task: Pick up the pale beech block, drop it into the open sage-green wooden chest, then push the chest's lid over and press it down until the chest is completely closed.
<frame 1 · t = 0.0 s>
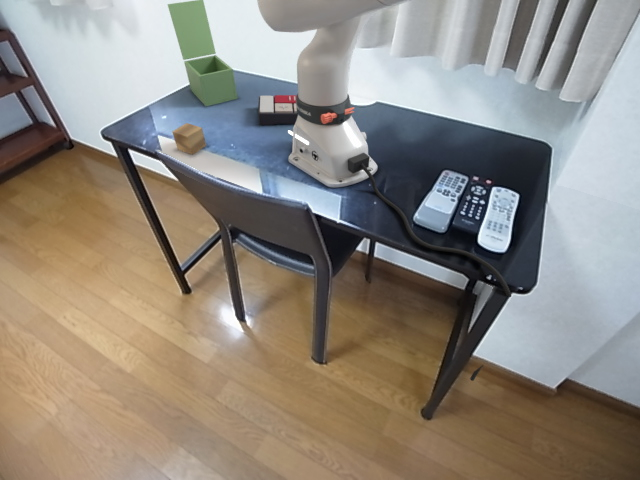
block: (192, 147, 94), on the table
chest: (213, 94, 116), on the table
lid: (192, 30, 110), point 16 cm above the table, hinge at 100.0°
black rectangular box: (285, 116, 107), on the table
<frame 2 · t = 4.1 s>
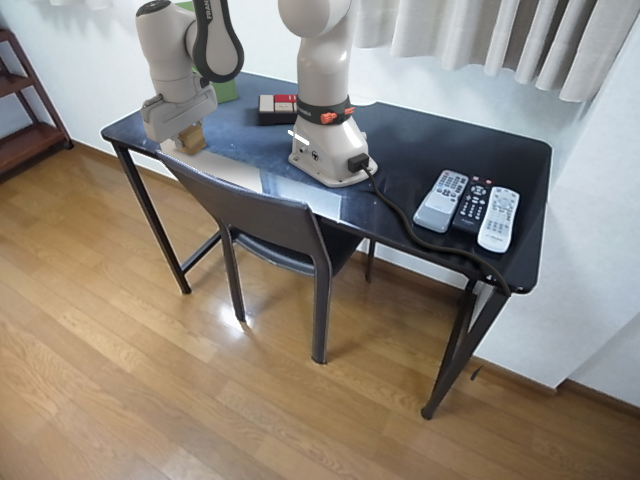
hand: (190, 141, 93), 2 cm above the table, tool pointing down, fingers closed on block, 5 cm apart
block: (192, 147, 94), on the table, touching gripper
everything else where it was.
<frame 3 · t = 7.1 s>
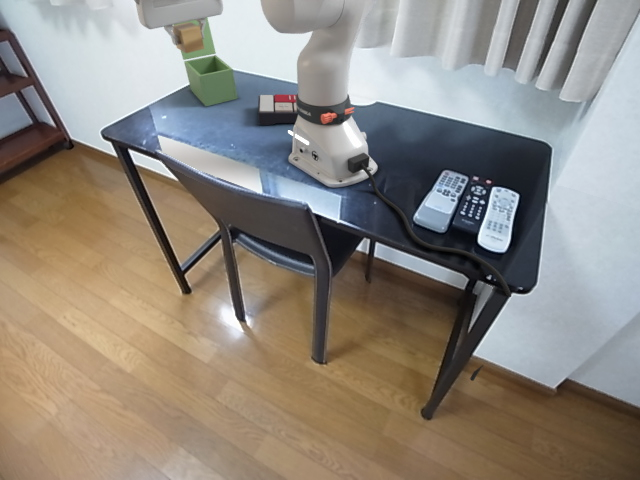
hand: (189, 41, 93), 20 cm above the table, tool pointing down, fingers closed on block, 5 cm apart
block: (190, 48, 94), point 18 cm above the table, touching gripper
everything else where it was.
when the fingers open (10 cm above the table, at t = 10.3 s): block drops 8 cm, resting on chest.
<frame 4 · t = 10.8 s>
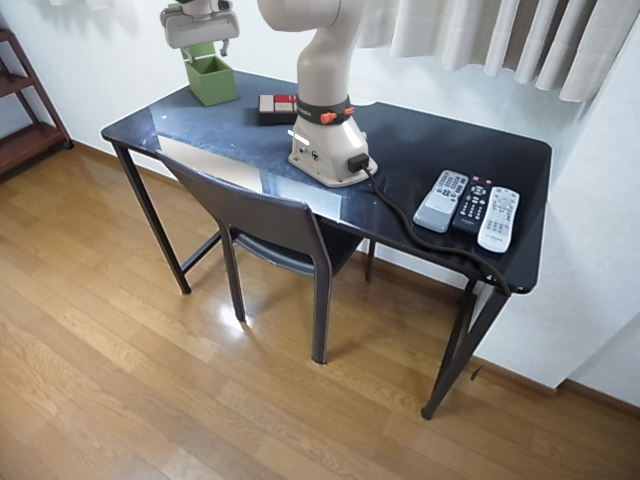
hand: (208, 59, 107), 11 cm above the table, tool pointing down, fingers open, 8 cm apart
block: (215, 94, 114), point 1 cm above the table, touching chest
everything else where it was.
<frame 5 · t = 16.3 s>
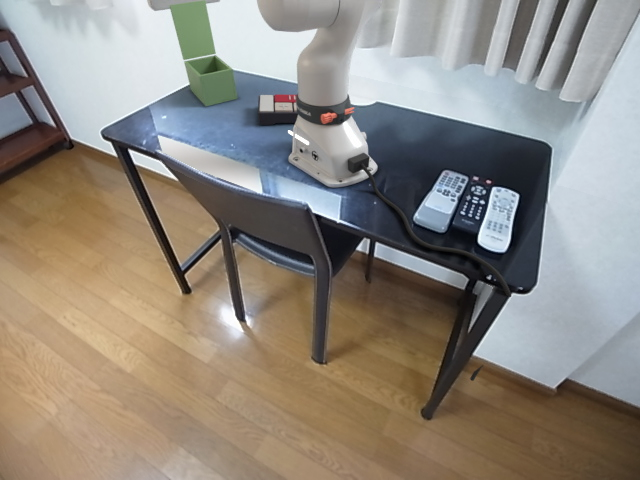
hand: (190, 23, 109), 18 cm above the table, tool pointing down, fingers closed, pressing on lid
lid: (193, 30, 109), point 16 cm above the table, hinge at 92.5°, touching gripper
everything else where it was.
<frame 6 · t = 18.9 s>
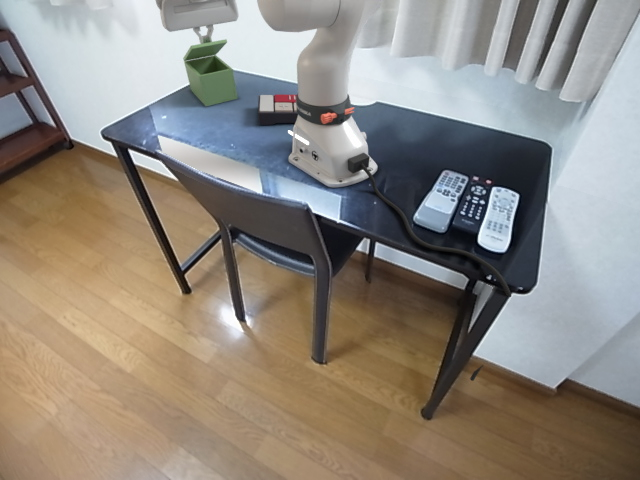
hand: (206, 43, 104), 15 cm above the table, tool pointing down, fingers closed, pressing on lid
lid: (204, 50, 108), point 13 cm above the table, hinge at 28.8°, touching gripper
everything else where it was.
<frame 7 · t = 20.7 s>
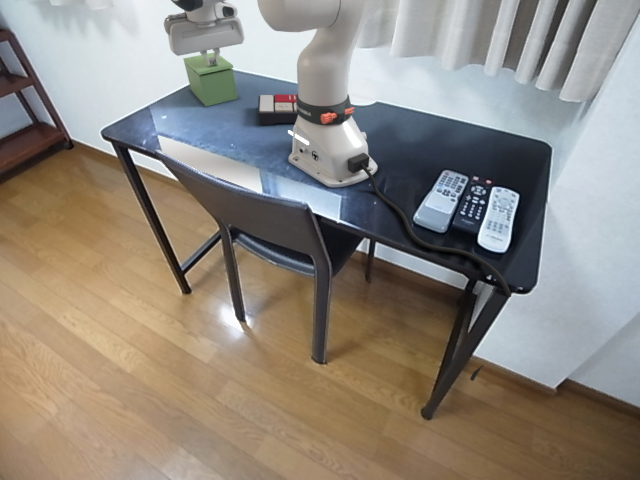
hand: (212, 65, 106), 10 cm above the table, tool pointing down, fingers closed, pressing on lid
lid: (207, 62, 109), point 10 cm above the table, hinge at 2.1°, touching gripper
everything else where it was.
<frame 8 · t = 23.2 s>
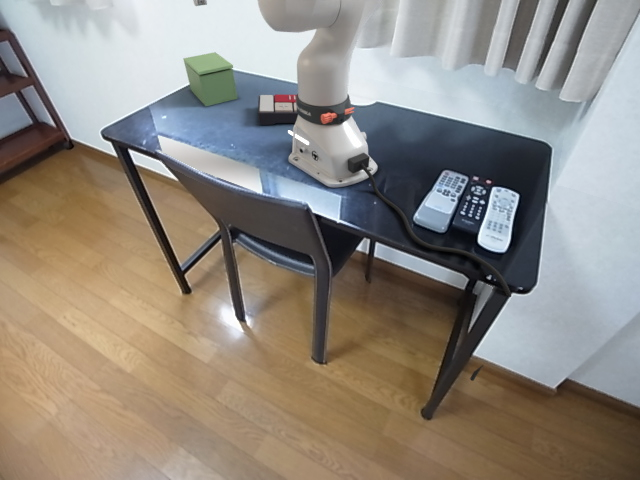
hand: (200, 5, 96), 25 cm above the table, tool pointing down, fingers closed
lid: (207, 62, 109), point 10 cm above the table, hinge at 2.1°
everything else where it was.
at the end: block inside the target area in the chest (2.0 cm from its centre), point 0.8 cm above the chest's base; lid at +2° (first picture: +100°) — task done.
